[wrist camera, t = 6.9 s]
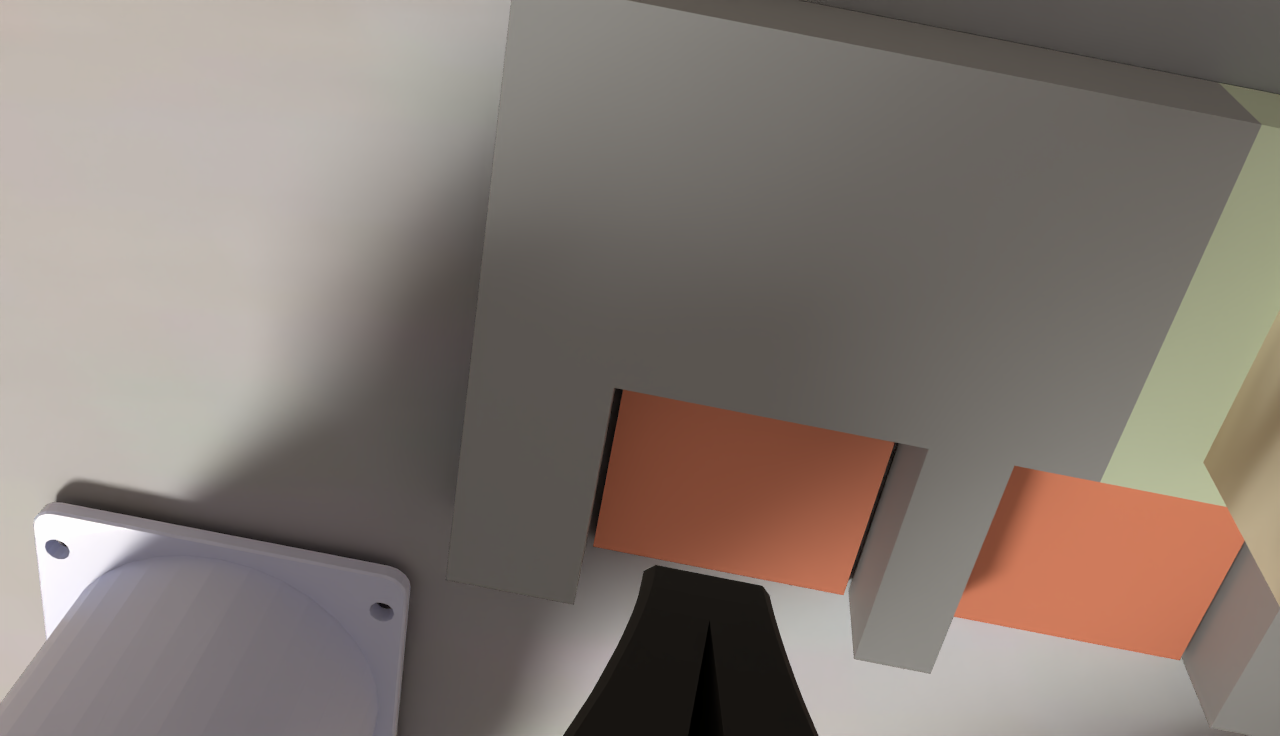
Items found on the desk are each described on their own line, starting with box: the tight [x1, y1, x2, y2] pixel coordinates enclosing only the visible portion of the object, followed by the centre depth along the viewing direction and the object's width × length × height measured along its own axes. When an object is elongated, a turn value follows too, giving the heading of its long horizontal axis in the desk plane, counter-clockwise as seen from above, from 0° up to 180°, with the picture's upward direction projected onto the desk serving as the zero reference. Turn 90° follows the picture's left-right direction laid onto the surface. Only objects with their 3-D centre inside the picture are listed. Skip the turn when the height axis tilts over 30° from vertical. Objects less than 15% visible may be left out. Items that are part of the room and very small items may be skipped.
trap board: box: [446, 0, 1280, 736], centre depth 21 cm, size 12×18×4 cm, turn 80°
